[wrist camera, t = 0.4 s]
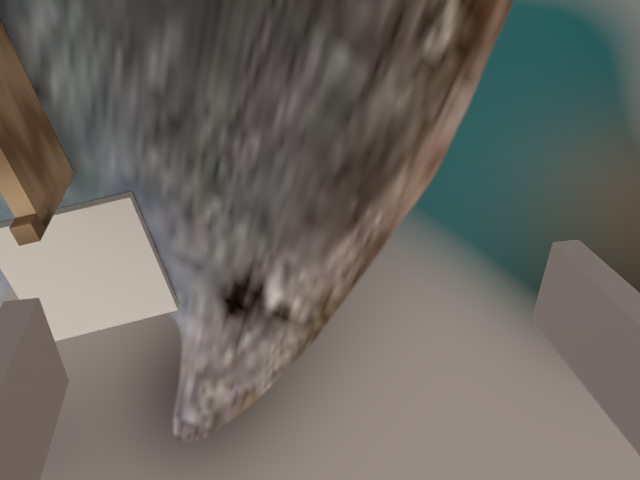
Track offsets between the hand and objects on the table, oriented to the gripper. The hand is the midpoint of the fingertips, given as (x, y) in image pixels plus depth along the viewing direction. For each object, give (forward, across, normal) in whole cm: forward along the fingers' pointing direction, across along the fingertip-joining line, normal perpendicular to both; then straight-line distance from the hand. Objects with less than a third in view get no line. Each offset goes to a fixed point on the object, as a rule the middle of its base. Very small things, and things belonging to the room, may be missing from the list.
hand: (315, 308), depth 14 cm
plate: (+26, -14, -15) cm, 33 cm away
